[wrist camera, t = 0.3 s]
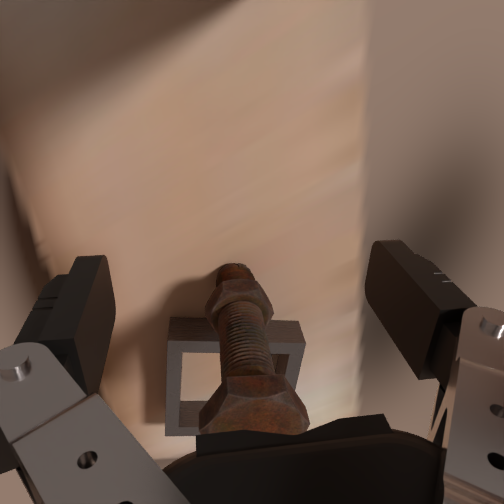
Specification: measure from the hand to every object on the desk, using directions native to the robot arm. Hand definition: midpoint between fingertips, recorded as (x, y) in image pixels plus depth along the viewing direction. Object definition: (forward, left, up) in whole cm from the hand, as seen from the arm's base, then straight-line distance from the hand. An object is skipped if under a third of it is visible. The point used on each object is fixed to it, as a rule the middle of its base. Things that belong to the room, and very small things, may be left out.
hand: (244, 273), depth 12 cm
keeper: (+21, +3, -18) cm, 28 cm away
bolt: (+11, +2, -18) cm, 22 cm away
